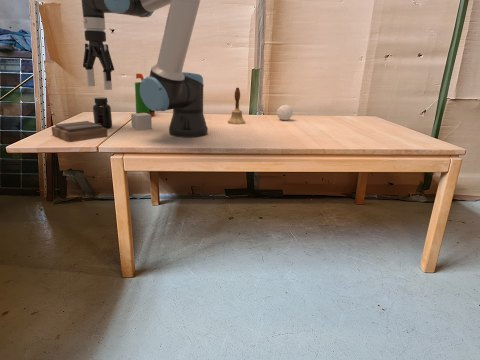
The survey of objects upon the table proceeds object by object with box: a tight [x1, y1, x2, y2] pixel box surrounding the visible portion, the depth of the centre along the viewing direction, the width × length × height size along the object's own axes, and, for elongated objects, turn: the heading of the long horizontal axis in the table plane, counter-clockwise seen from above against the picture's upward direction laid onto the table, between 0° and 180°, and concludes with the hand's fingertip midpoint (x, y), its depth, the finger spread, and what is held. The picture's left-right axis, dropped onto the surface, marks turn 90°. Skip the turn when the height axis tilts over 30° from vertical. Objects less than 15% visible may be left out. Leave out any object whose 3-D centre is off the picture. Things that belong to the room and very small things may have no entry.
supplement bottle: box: [92, 96, 113, 130], centre depth 149 cm, size 7×7×12 cm
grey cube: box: [130, 112, 153, 131], centre depth 151 cm, size 6×6×6 cm
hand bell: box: [227, 87, 246, 125], centre depth 170 cm, size 8×8×16 cm
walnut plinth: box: [51, 120, 108, 143], centre depth 135 cm, size 14×14×4 cm
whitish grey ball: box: [276, 104, 294, 121], centre depth 182 cm, size 8×8×8 cm
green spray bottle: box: [134, 73, 156, 118], centre depth 179 cm, size 10×9×20 cm
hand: (99, 88), depth 146 cm, fingers open, 13 cm apart
